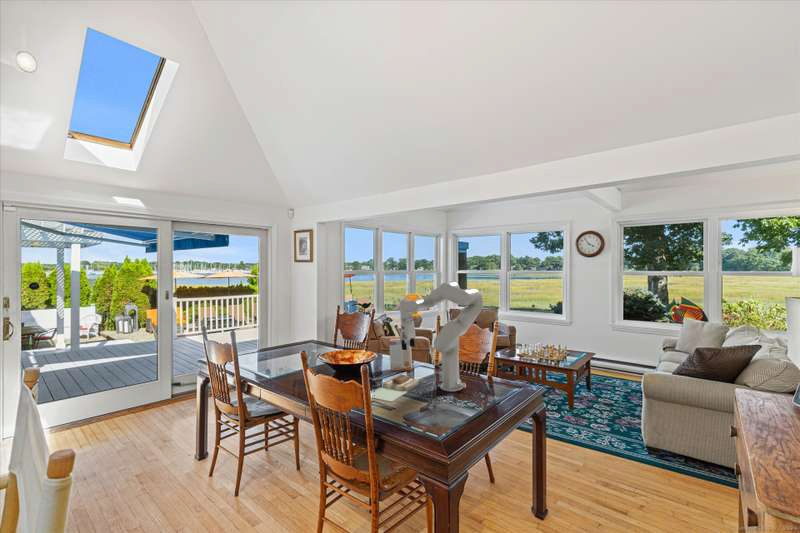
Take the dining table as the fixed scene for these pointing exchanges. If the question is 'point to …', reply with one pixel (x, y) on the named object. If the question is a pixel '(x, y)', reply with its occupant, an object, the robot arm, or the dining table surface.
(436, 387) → the dining table surface
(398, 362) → the cracker box
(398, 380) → the tile
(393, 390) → the mat
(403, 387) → the deck
